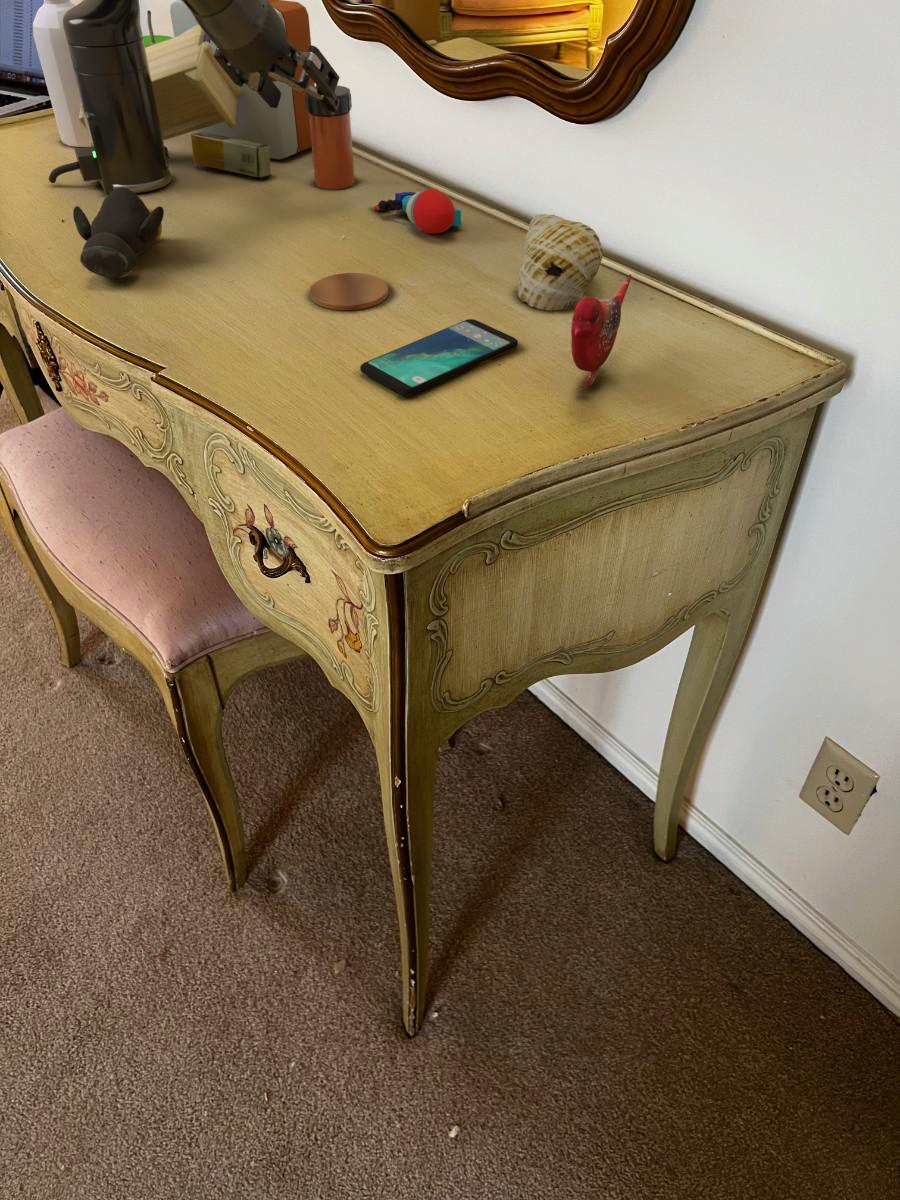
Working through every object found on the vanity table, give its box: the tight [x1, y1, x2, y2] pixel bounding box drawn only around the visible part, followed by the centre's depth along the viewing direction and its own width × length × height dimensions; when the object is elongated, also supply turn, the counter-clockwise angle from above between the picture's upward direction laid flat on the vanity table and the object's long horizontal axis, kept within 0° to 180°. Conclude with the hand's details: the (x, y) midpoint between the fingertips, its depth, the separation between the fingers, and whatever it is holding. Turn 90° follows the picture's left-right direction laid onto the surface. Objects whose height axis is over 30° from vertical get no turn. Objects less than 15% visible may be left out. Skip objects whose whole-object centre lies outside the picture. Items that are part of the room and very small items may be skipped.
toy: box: [72, 187, 165, 279], centre depth 104 cm, size 10×7×15 cm
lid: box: [305, 85, 353, 116], centre depth 120 cm, size 6×6×2 cm
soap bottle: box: [32, 0, 91, 148], centre depth 134 cm, size 9×9×24 cm
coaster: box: [310, 272, 389, 311], centre depth 100 cm, size 8×8×1 cm
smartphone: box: [359, 318, 519, 397], centre depth 89 cm, size 7×1×15 cm
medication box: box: [190, 132, 272, 179], centre depth 129 cm, size 12×3×4 cm, turn 62°
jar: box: [309, 110, 356, 190], centre depth 123 cm, size 5×5×11 cm
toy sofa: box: [79, 25, 241, 141], centre depth 129 cm, size 21×9×10 cm
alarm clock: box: [169, 0, 316, 160], centre depth 133 cm, size 18×9×21 cm, turn 58°
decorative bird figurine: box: [570, 274, 632, 394], centre depth 84 cm, size 3×18×10 cm, turn 156°
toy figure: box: [373, 188, 462, 235], centre depth 114 cm, size 8×5×15 cm
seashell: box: [516, 213, 603, 311], centre depth 99 cm, size 10×10×10 cm
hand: (305, 105), depth 116 cm, fingers open, 8 cm apart
